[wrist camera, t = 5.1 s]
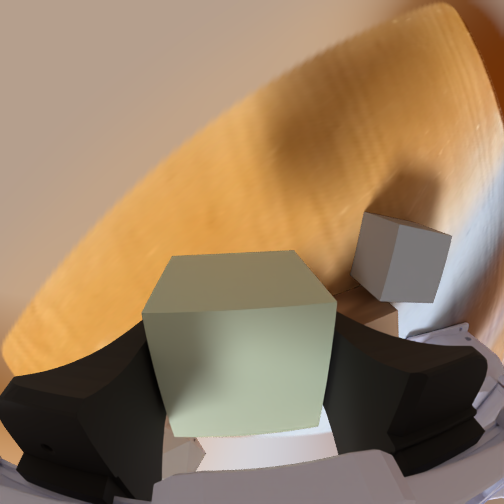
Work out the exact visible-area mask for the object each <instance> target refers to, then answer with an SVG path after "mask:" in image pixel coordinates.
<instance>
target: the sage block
mask: <svg viewBox="0 0 504 504" xmlns="http://www.w3.org/2000/svg"><path fill="white" fill-rule="evenodd" d="M336 309H337V301H336V300H335V299H334V297H333V296H332V295H331V294H330V293H329V291H328V290H327V289H326V288H325V287H324V285H323V284H322V283H321V282H320V281H319V279H318V278H317V277H316V276H315V275H314V273H313V272H312V271H311V270H310V269H309V268H308V266H307V265H306V264H305V263H304V262H303V260H302V259H301V258H300V257H299V256H298V255H297V253H296V252H295V251H294V250H289V251H268V252H247V253H227V254H206V255H185V256H172V257H171V259H170V261H169V263H168V264H167V266H166V268H165V270H164V272H163V274H162V275H161V277H160V279H159V281H158V283H157V285H156V286H155V288H154V290H153V292H152V294H151V296H150V298H149V300H148V301H147V303H146V305H145V307H144V309H143V311H142V318H143V323H144V328H145V333H146V337H147V342H148V346H149V350H150V354H151V359H152V363H153V367H154V370H155V374H156V378H157V382H158V385H159V389H160V392H161V396H162V399H163V403H164V406H165V409H166V413H167V416H168V419H169V422H170V425H171V428H172V431H173V434H174V437H229V436H246V435H258V434H268V433H277V432H285V431H293V430H299V429H306V428H312V427H317V426H318V425H319V420H320V415H321V410H322V405H323V400H324V394H325V388H326V382H327V376H328V370H329V364H330V357H331V350H332V342H333V335H334V327H335V318H336Z"/></svg>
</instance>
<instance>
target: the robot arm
mask: <svg viewBox="0 0 504 504" xmlns="http://www.w3.org/2000/svg"><path fill="white" fill-rule="evenodd" d="M468 328H469V324H468V323H467V322H465V323H462V324H458V325H455V326H451V327H448V328H444V329H440V330H437V331H433V332H429V333H425V334H421V335H417V336H413V337H409V338H407V339H402V338H399V337H395V336H392V335H389V334H386V333H383V332H380V331H377V330H375V329H372V328H370V327H368V326H365V325H363V324H361V323H359V322H357V321H355V320H353V319H351V318H349V317H347V316H345V315H343V314H341V313H339V312H337V311H336V318H335V327H334V335H333V342H332V350H331V357H330V364H329V370H328V376H327V382H326V388H325V394H324V400H323V406H324V408H325V411H326V414H327V416H328V420H329V423H330V426H331V429H332V433H333V436H334V440H335V444H336V447H337V451H338V455H337V456H333V457H329V458H324V459H319V460H314V461H309V462H302V463H297V464H290V465H283V466H275V467H266V468H257V469H244V470H222V471H199V472H189V473H177V474H174V475H172V476H170V477H168V478H166V479H164V480H162V457H163V440H164V427H165V421H166V415H167V413H166V409H165V406H164V403H163V399H162V396H161V392H160V389H159V385H158V382H157V378H156V374H155V370H154V367H153V363H152V359H151V354H150V350H149V346H148V342H147V337H146V333H145V328H144V323H143V320H142V321H140V322H139V323H138V324H137V325H135V326H134V327H133V328H131V329H130V330H129V331H127V332H126V333H125V334H123V335H122V336H120V337H119V338H117V339H116V340H115V341H113V342H112V343H110V344H109V345H107V346H105V347H104V348H102V349H100V350H98V351H96V352H94V353H93V354H91V355H89V356H86V357H84V358H82V359H79V360H77V361H75V362H72V363H70V364H67V365H64V366H61V367H58V368H55V369H51V370H48V371H44V372H39V373H34V374H28V375H23V376H16V377H14V378H13V379H12V380H11V381H10V383H9V384H8V386H7V387H6V388H5V390H4V391H3V392H2V394H1V395H0V420H1V422H2V423H3V425H4V427H5V428H6V430H7V431H8V432H9V434H10V435H11V436H12V438H13V439H14V440H15V442H16V443H17V444H18V446H19V447H20V448H21V449H22V451H23V452H24V453H23V455H22V458H21V460H20V462H19V464H18V466H16V465H14V464H12V463H10V462H8V461H6V460H3V459H2V458H1V456H0V504H484V503H485V502H487V501H488V500H491V499H496V498H504V368H503V365H502V362H501V361H500V359H499V357H498V356H497V355H496V354H495V353H494V352H492V351H491V350H490V349H489V348H487V347H486V346H485V345H484V344H483V343H481V342H480V341H479V340H478V339H476V338H475V337H474V336H473V335H471V334H470V333H469V332H468Z"/></svg>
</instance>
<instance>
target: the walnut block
mask: <svg viewBox="0 0 504 504" xmlns="http://www.w3.org/2000/svg"><path fill="white" fill-rule="evenodd" d="M333 297H334V299H335V300H336V301H337V309H336V311H337V312H339V313H341V314H343V315H345V316H347V317H349V318H351V319H353V320H355V321H357V322H359V323H361V324H363V325H365V326H368V327H370V328H372V329H375V330H377V331H380V332H383V333H386V334H389V335H392V336H395V337H399V336H398V310H397V309H396V308H395V307H393V306H392V305H391V304H390V303H389V302H386V301H379V300H378V299H377V298H376V297H375V296H373V295H372V294H371V293H370V292H369V291H368V290H367V289H366V288H364V287H363V286H359V287H356V288H354V289H351V290H348V291H346V292H343V293H340V294H337V295H334V296H333Z"/></svg>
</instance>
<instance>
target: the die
mask: <svg viewBox="0 0 504 504" xmlns="http://www.w3.org/2000/svg"><path fill="white" fill-rule="evenodd" d="M205 454H206V453H205V451H204V450H203V448H202V446H201V445H200V443H199V441H198V440H197V438H196V437H174V434H173V431H172V428H171V425H170V422H169V419H168V416H167V415H166V421H165V427H164V440H163V457H162V480H164V479H166V478H168V477H170V476H172V475H174V474H177V473H189V472H196V470H197V468H198V466H199V465H200V463H201V461H202V459H203V458H204V456H205Z"/></svg>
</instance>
